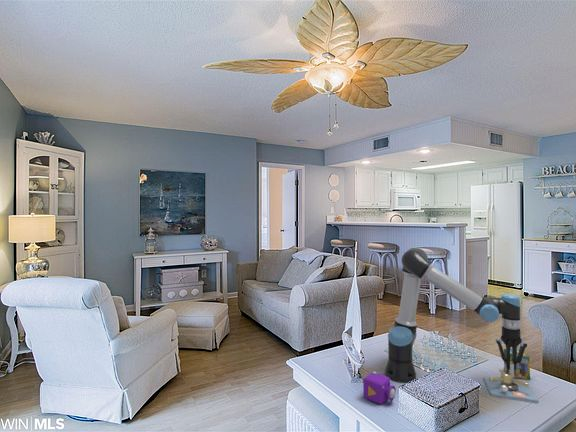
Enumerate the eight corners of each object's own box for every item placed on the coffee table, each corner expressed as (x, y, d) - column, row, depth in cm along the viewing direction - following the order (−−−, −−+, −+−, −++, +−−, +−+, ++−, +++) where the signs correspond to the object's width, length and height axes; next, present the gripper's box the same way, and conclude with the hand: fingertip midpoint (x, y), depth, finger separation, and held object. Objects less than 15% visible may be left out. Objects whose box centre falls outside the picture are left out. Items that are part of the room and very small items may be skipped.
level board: (491, 396, 152) (490, 392, 152) (483, 378, 168) (483, 375, 168) (538, 403, 146) (538, 399, 146) (525, 384, 162) (525, 381, 162)
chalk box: (530, 380, 166) (530, 350, 166) (509, 377, 169) (508, 348, 169) (523, 371, 175) (523, 343, 175) (503, 369, 178) (503, 341, 178)
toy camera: (392, 409, 142) (392, 386, 142) (361, 400, 149) (361, 378, 149) (399, 397, 151) (398, 375, 151) (369, 389, 158) (369, 368, 158)
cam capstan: (491, 392, 152) (491, 378, 152) (483, 375, 168) (483, 363, 168) (532, 398, 147) (532, 384, 147) (520, 380, 163) (519, 367, 163)
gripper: (497, 328, 160) (497, 377, 160) (529, 331, 156) (530, 382, 156) (493, 323, 167) (493, 370, 167) (524, 326, 163) (524, 374, 163)
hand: (511, 376), depth 161 cm, fingers closed
